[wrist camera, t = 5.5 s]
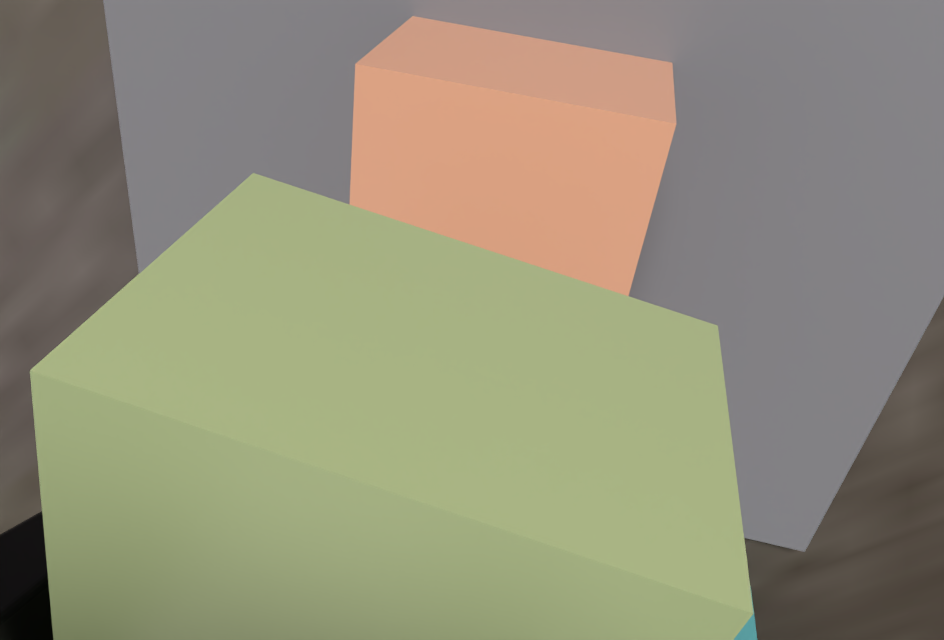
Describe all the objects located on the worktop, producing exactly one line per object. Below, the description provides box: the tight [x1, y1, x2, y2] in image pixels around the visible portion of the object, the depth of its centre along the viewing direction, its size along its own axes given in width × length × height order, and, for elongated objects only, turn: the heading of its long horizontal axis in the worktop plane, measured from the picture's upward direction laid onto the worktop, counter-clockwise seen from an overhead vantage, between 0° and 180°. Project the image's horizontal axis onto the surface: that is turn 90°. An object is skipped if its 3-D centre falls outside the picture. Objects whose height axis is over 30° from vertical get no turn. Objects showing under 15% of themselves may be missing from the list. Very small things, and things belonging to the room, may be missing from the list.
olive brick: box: [30, 173, 753, 640], centre depth 9 cm, size 7×5×4 cm
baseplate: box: [103, 0, 944, 552], centre depth 17 cm, size 16×18×1 cm
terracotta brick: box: [350, 16, 676, 296], centre depth 15 cm, size 7×5×4 cm
